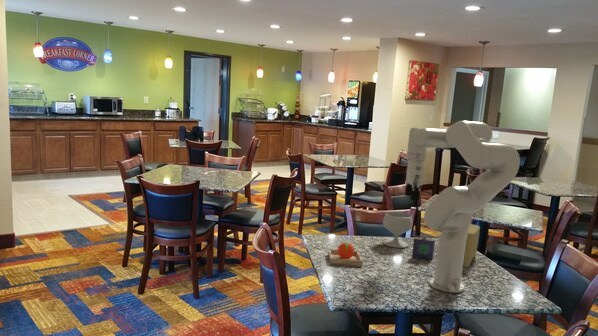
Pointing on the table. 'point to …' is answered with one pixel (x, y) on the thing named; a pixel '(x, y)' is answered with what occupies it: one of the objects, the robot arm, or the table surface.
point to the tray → (352, 261)
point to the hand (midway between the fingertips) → (411, 197)
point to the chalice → (397, 227)
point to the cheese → (471, 244)
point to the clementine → (345, 250)
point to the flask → (423, 248)
